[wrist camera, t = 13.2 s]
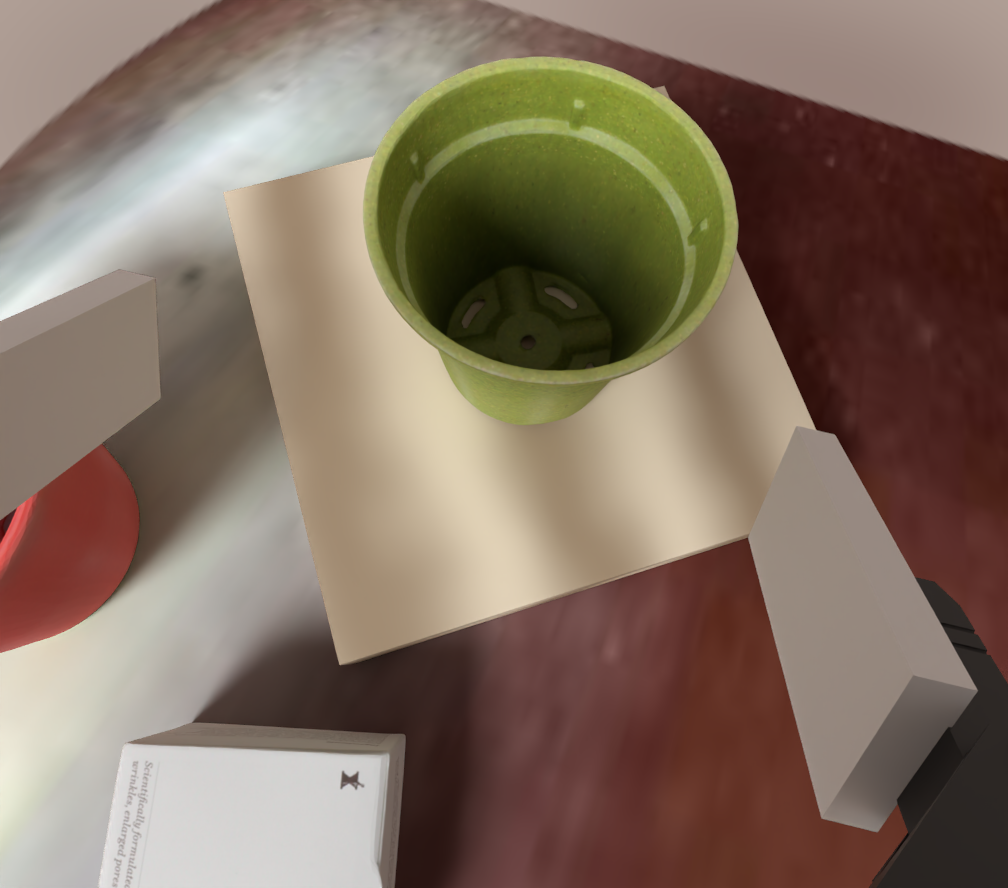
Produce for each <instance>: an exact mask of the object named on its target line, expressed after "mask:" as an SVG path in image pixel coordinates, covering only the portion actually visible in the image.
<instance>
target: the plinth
mask: <svg viewBox="0 0 1008 888" xmlns="http://www.w3.org/2000/svg"><path fill="white" fill-rule="evenodd" d="M653 89H654V90H656V91H658V92H659V93H661V94H663V95H664V96H666V97H667V98H669V96H668V93H667V91H666V89H665V87H664V86H661V87H657V88H653ZM669 99H670V98H669ZM373 158H374V156H372V157H368V158H364V159H360V160H356V161H351V162H347V163H343V164H339V165H335V166H331V167H327V168H322V169H318V170H314V171H310V172H306V173H302V174H298V175H294V176H289V177H285V178H281V179H277V180H273V181H269V182H265V183H260V184H256V185H252V186H248V187H244V188H240V189H236V190H232V191H227V192H223V194H224V198H225V202H226V206H227V210H228V214H229V218H230V222H231V226H232V230H233V234H234V238H235V242H236V246H237V251H238V255H239V259H240V263H241V267H242V271H243V275H244V279H245V283H246V287H247V291H248V295H249V299H250V303H251V307H252V312H253V316H254V320H255V324H256V328H257V332H258V336H259V340H260V344H261V348H262V352H263V356H264V360H265V364H266V369H267V373H268V377H269V381H270V385H271V389H272V393H273V397H274V401H275V405H276V409H277V413H278V417H279V421H280V425H281V430H282V434H283V438H284V442H285V446H286V450H287V454H288V458H289V462H290V466H291V470H292V474H293V478H294V482H295V486H296V491H297V495H298V499H299V503H300V507H301V511H302V515H303V519H304V523H305V527H306V531H307V535H308V539H309V543H310V547H311V552H312V556H313V560H314V564H315V568H316V572H317V576H318V580H319V584H320V588H321V592H322V596H323V600H324V604H325V608H326V613H327V617H328V621H329V625H330V629H331V633H332V637H333V641H334V645H335V649H336V653H337V657H338V661H339V665H345V664H355V663H358V662H361V661H364V660H367V659H371V658H374V657H377V656H380V655H383V654H386V653H389V652H392V651H396V650H399V649H402V648H405V647H408V646H411V645H414V644H417V643H420V642H424V641H427V640H430V639H433V638H436V637H439V636H442V635H445V634H448V633H452V632H455V631H458V630H461V629H464V628H467V627H470V626H473V625H476V624H480V623H483V622H486V621H489V620H492V619H495V618H498V617H501V616H505V615H508V614H511V613H514V612H517V611H520V610H523V609H526V608H529V607H533V606H536V605H539V604H542V603H545V602H548V601H551V600H554V599H557V598H561V597H564V596H567V595H570V594H573V593H576V592H579V591H582V590H585V589H589V588H592V587H595V586H598V585H601V584H604V583H607V582H610V581H613V580H617V579H620V578H623V577H626V576H629V575H632V574H635V573H638V572H642V571H645V570H648V569H651V568H654V567H657V566H660V565H663V564H666V563H670V562H673V561H676V560H679V559H682V558H685V557H688V556H691V555H694V554H698V553H701V552H704V551H707V550H710V549H713V548H716V547H719V546H722V545H726V544H729V543H732V542H735V541H738V540H741V539H744V538H747V537H748V536H749V534H750V532H751V530H752V527H753V525H754V523H755V520H756V518H757V516H758V513H759V511H760V509H761V506H762V504H763V502H764V500H765V497H766V495H767V493H768V490H769V488H770V486H771V483H772V481H773V479H774V476H775V474H776V472H777V469H778V467H779V465H780V463H781V460H782V458H783V456H784V453H785V451H786V449H787V446H788V444H789V442H790V439H791V437H792V435H793V433H794V430H795V428H796V426H800V427H804V428H808V429H813V430H816V428H815V426H814V424H813V421H812V419H811V417H810V415H809V412H808V410H807V408H806V406H805V403H804V401H803V399H802V397H801V394H800V392H799V390H798V388H797V385H796V383H795V381H794V378H793V376H792V374H791V372H790V369H789V367H788V365H787V363H786V360H785V358H784V356H783V354H782V351H781V349H780V347H779V345H778V342H777V340H776V338H775V336H774V333H773V331H772V329H771V326H770V324H769V322H768V320H767V317H766V315H765V313H764V311H763V308H762V306H761V304H760V302H759V299H758V297H757V295H756V293H755V290H754V288H753V286H752V283H751V281H750V279H749V277H748V274H747V272H746V270H745V268H744V265H743V263H742V261H741V259H740V256H739V254H738V252H737V250H736V254H735V258H734V262H733V266H732V269H731V273H730V275H729V278H728V281H727V283H726V286H725V288H724V290H723V292H722V294H721V296H720V297H719V299H718V301H717V302H716V304H715V306H714V307H713V309H712V310H711V312H710V313H709V315H708V316H707V317H706V318H705V320H704V321H703V322H702V323H701V325H700V326H699V327H698V328H697V329H696V330H695V331H694V332H693V333H692V334H691V335H690V336H689V337H688V338H687V339H686V340H685V341H684V342H682V343H681V344H680V345H679V346H678V347H676V348H675V349H674V350H673V351H672V352H670V353H669V354H667V355H666V356H664V357H663V358H661V359H660V360H658V361H656V362H654V363H652V364H651V365H649V366H647V367H645V368H643V369H640V370H638V371H636V372H633V373H631V374H628V375H625V376H622V377H619V378H616V379H613V380H611V381H610V382H609V383H608V384H607V385H606V386H605V387H604V388H603V389H602V390H601V391H600V392H599V393H598V394H597V395H596V396H595V397H594V398H593V399H592V400H591V402H589V403H588V404H587V405H586V406H585V407H583V408H582V409H581V410H579V411H578V412H576V413H574V414H573V415H571V416H569V417H567V418H564V419H561V420H557V421H553V422H549V423H544V424H534V425H516V424H511V423H506V422H503V421H500V420H497V419H495V418H493V417H490V416H488V415H486V414H484V413H483V412H481V411H480V410H478V409H477V408H476V407H474V406H473V405H472V404H471V403H470V402H469V401H468V400H466V399H465V398H464V397H463V395H462V394H461V393H460V392H459V391H458V389H457V388H456V386H455V385H454V383H453V382H452V380H451V378H450V376H449V374H448V372H447V370H446V367H445V365H444V363H443V361H442V359H441V356H440V354H439V352H438V350H437V349H436V348H435V347H433V346H432V345H430V344H429V343H428V342H427V341H425V340H424V339H423V338H422V337H421V336H420V335H419V334H417V333H416V332H415V331H414V330H413V329H412V328H411V327H410V326H409V324H408V323H407V322H406V321H405V320H404V319H403V318H402V317H401V315H400V314H399V313H398V312H397V311H396V309H395V308H394V306H393V305H392V303H391V302H390V300H389V299H388V298H387V296H386V294H385V292H384V291H383V289H382V287H381V285H380V283H379V281H378V279H377V276H376V274H375V271H374V269H373V266H372V264H371V261H370V257H369V254H368V249H367V245H366V240H365V233H364V225H363V200H364V190H365V185H366V180H367V176H368V172H369V169H370V166H371V163H372V160H373ZM545 292H546V293H547V294H549V295H551V296H554V297H556V298H558V299H559V300H561V301H562V302H563V303H564V304H566V305H567V306H569V307H570V308H571V309H576V308H577V303H576V302H575V300H574V299H573V298H572V297H571V296H570V295H568V294H566V293H565V292H564V291H562V290H560V289H558V288H555V287H546V288H545ZM485 303H486V301H485V300H483V299H480V300H477V301H475V302H474V303H473V304H472V305H471V306H470V308H469V309H468V311H467V312H466V314H465V316H464V318H463V320H462V324H463V327H464V328H467V327H468V326H469V324H470V322H471V320H472V319H473V317H474V315H475V314H476V313H477V312H478V311H479V310H480V309H481V308H482V307H483V306H484V305H485ZM521 344H522V347H523V348H525V349H530V348H532V347H533V345H534V344H535V339H534V338H533V337H532V336H530V335H527V336H525V337H523V339H522V341H521ZM590 368H594V366H593V365H592V363H588V364H587V365H586V367H585V369H590Z"/></svg>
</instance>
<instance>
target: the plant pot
mask: <svg viewBox="0 0 1008 888" xmlns="http://www.w3.org/2000/svg"><path fill="white" fill-rule="evenodd" d="M363 225H364V233H365V240H366V245H367V249H368V254H369V257H370V261H371V264H372V266H373V269H374V271H375V274H376V276H377V279H378V281H379V283H380V285H381V287H382V289H383V291H384V292H385V294H386V296H387V298H388V299H389V300H390V302H391V303H392V305H393V306H394V308H395V309H396V311H397V312H398V313H399V314H400V315H401V317H402V318H403V319H404V320H405V321H406V322H407V323H408V324H409V326H410V327H411V328H412V329H413V330H414V331H415V332H416V333H417V334H419V335H420V336H421V337H422V338H423V339H424V340H425V341H427V342H428V343H429V344H430V345H432V346H433V347H435V348H436V349H437V350H438V352H439V354H440V356H441V359H442V361H443V363H444V365H445V367H446V370H447V372H448V374H449V376H450V378H451V380H452V382H453V383H454V385H455V386H456V388H457V389H458V391H459V392H460V393H461V394H462V395H463V397H464V398H465V399H466V400H468V401H469V402H470V403H471V404H472V405H473V406H474V407H476V408H477V409H478V410H480V411H481V412H483V413H484V414H486V415H488V416H490V417H493V418H495V419H497V420H500V421H503V422H506V423H511V424H516V425H534V424H544V423H549V422H553V421H557V420H561V419H564V418H567V417H569V416H571V415H573V414H574V413H576V412H578V411H579V410H581V409H582V408H583V407H585V406H586V405H587V404H588V403H589V402H591V400H592V399H593V398H594V397H595V396H596V395H597V394H598V393H599V392H600V391H601V390H602V389H603V388H604V387H605V386H606V385H607V384H608V383H609V382H610V381H611V380H613V379H616V378H619V377H622V376H625V375H628V374H631V373H633V372H636V371H638V370H640V369H643V368H645V367H647V366H649V365H651V364H652V363H654V362H656V361H658V360H660V359H661V358H663V357H664V356H666V355H667V354H669V353H670V352H672V351H673V350H674V349H675V348H676V347H678V346H679V345H680V344H681V343H682V342H684V341H685V340H686V339H687V338H688V337H689V336H690V335H691V334H692V333H693V332H694V331H695V330H696V329H697V328H698V327H699V326H700V325H701V323H702V322H703V321H704V320H705V318H706V317H707V316H708V315H709V313H710V312H711V310H712V309H713V307H714V306H715V304H716V302H717V301H718V299H719V297H720V296H721V294H722V292H723V290H724V288H725V286H726V283H727V281H728V278H729V275H730V273H731V269H732V266H733V262H734V258H735V254H736V247H737V240H738V217H737V212H736V202H735V198H734V193H733V188H732V184H731V181H730V179H729V176H728V173H727V171H726V168H725V166H724V165H723V163H722V161H721V158H720V156H719V154H718V153H717V151H716V149H715V148H714V146H713V144H712V143H711V141H710V140H709V139H708V137H707V136H706V135H705V134H704V132H703V131H702V129H701V128H700V127H699V126H698V125H697V124H696V122H694V121H693V120H692V119H691V117H689V116H688V115H687V114H686V113H685V112H684V111H683V110H682V109H681V108H680V107H679V106H677V105H676V104H675V103H674V102H673V101H672V100H670V99H669V98H667V97H666V96H664V95H663V94H661V93H659V92H658V91H656V90H654V89H653V88H651V87H650V86H648V85H647V84H645V83H643V82H641V81H639V80H637V79H635V78H633V77H631V76H629V75H627V74H625V73H623V72H620V71H617V70H615V69H612V68H609V67H605V66H602V65H599V64H595V63H591V62H587V61H577V60H572V59H568V58H555V57H527V58H511V59H501V60H498V61H495V62H490V63H486V64H482V65H479V66H476V67H474V68H470V69H467V70H465V71H463V72H460V73H458V74H456V75H454V76H452V77H450V78H448V79H446V80H444V81H443V82H441V83H439V84H438V85H436V86H435V87H433V88H431V89H430V90H428V91H426V92H425V93H423V94H422V95H421V96H420V97H418V98H417V99H416V100H414V101H413V102H412V103H411V104H410V105H409V106H408V107H407V108H406V109H405V110H404V112H403V113H402V114H401V115H400V116H399V117H398V118H397V120H396V121H395V122H394V123H393V125H392V126H391V127H390V129H389V130H388V131H387V133H386V134H385V136H384V137H383V139H382V141H381V143H380V145H379V147H378V148H377V151H376V153H375V155H374V158H373V160H372V163H371V166H370V169H369V172H368V176H367V180H366V185H365V190H364V200H363ZM546 287H555V288H558V289H560V290H562V291H564V292H565V293H566V294H568V295H570V296H571V297H572V298H573V299H574V300H575V302H576V303H577V308H576V309H571V308H570V307H569V306H567V305H566V304H564V303H563V302H562V301H561V300H559V299H558V298H556V297H554V296H551V295H549V294H547V293H546V292H545V288H546ZM480 299H483V300H485V301H486V303H485V305H484V306H483V307H482V308H481V309H480V310H479V311H478V312H477V313H476V314H475V315H474V317H473V319H472V320H471V322H470V324H469V326H468V327H467V328H464V327H463V324H462V320H463V318H464V316H465V314H466V312H467V311H468V309H469V308H470V306H471V305H472V304H473V303H474V302H475V301H477V300H480ZM527 335H530V336H532V337H533V338H534V339H535V344H534V345H533V347H532V348H530V349H525V348H523V347H522V344H521V341H522V339H523V337H525V336H527ZM588 363H592V365H593V366H594V368H590V369H585V367H586V365H587V364H588Z"/></svg>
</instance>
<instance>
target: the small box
mask: <svg viewBox="0 0 1008 888" xmlns="http://www.w3.org/2000/svg"><path fill="white" fill-rule="evenodd" d="M405 744H406V736H405V735H404V734H383V733H367V732H351V731H335V730H318V729H302V728H286V727H270V726H254V725H237V724H218V723H189V724H186V725H183V726H180V727H178V728H175V729H172V730H169V731H165V732H162V733H158V734H155V735H151V736H148V737H144V738H141V739H137V740H134V741H131V742H128V743H125V744H124V746H123V749H122V754H121V758H120V763H119V768H118V773H117V778H116V784H115V789H114V795H113V800H112V806H111V812H110V818H109V824H108V830H107V836H106V842H105V848H104V854H103V860H102V865H101V871H100V877H99V883H98V888H395V876H396V864H397V851H398V839H399V826H400V814H401V801H402V788H403V774H404V759H405Z"/></svg>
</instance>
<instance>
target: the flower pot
mask: <svg viewBox="0 0 1008 888" xmlns="http://www.w3.org/2000/svg"><path fill="white" fill-rule="evenodd" d="M139 522H140V518H139V508H138V503H137V498H136V495H135V492H134V489H133V487H132V484H131V482H130V480H129V478H128V476H127V475H126V473H125V472H124V470H123V469H122V467H121V466H120V465H119V464H118V462H117V461H116V460H115V459H114V457H113V456H112V455H111V454H110V453H109V452H108V450H107V449H106V448H105V447H104V446H103V444H100V445H99V446H98V447H96V448H95V449H94V450H92V451H91V452H90V453H88V454H87V455H86V456H84V457H83V458H82V459H81V460H79V461H78V462H77V463H75V464H74V465H73V466H71V467H70V468H69V469H67V470H66V471H65V472H63V473H62V474H61V475H59V476H58V477H57V478H55V479H54V480H53V481H51V482H50V483H49V484H47V485H46V486H45V487H43V488H42V489H41V490H40V491H38V492H37V493H36V494H34V495H33V496H32V497H30V498H29V499H28V500H26V501H25V502H24V503H22V504H21V505H20V506H18V507H17V508H16V509H14V510H13V511H12V512H10V513H9V514H8V515H6V516H5V517H4V518H3V519H1V520H0V653H2V652H5V651H8V650H12V649H15V648H18V647H21V646H24V645H27V644H30V643H33V642H36V641H40V640H43V639H47V638H50V637H52V636H55V635H57V634H59V633H62V632H64V631H66V630H68V629H70V628H72V627H74V626H75V625H77V624H79V623H80V622H82V621H83V620H85V619H86V618H87V617H88V616H90V615H91V614H92V613H93V612H95V611H96V610H97V609H98V608H99V607H100V606H101V605H102V604H103V603H104V602H105V601H106V600H107V599H108V598H109V597H110V596H111V595H112V593H113V592H114V591H115V589H116V588H117V587H118V585H119V584H120V582H121V581H122V579H123V577H124V576H125V574H126V572H127V570H128V568H129V566H130V564H131V561H132V559H133V556H134V553H135V550H136V546H137V541H138V534H139Z"/></svg>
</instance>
